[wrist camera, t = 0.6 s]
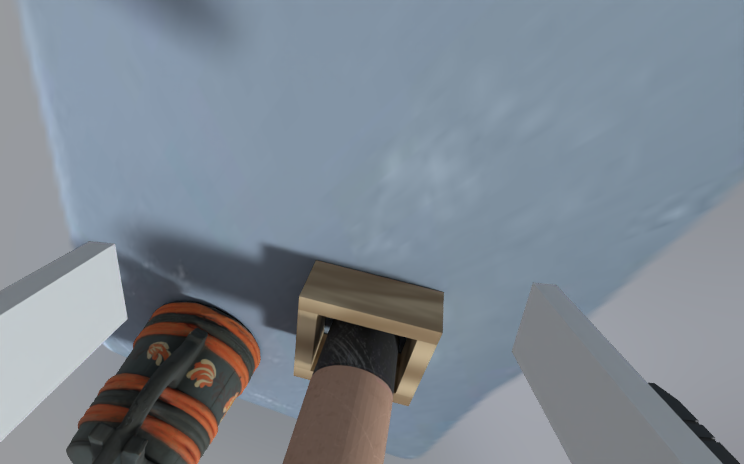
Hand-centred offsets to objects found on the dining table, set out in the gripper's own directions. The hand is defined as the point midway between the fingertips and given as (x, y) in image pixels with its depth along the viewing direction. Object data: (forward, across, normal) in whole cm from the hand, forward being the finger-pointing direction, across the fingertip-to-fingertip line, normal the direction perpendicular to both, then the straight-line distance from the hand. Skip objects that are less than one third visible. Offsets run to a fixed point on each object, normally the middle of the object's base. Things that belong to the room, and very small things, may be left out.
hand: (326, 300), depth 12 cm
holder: (+24, +3, -17) cm, 29 cm away
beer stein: (+29, -16, -24) cm, 41 cm away
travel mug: (+24, +3, -17) cm, 29 cm away
